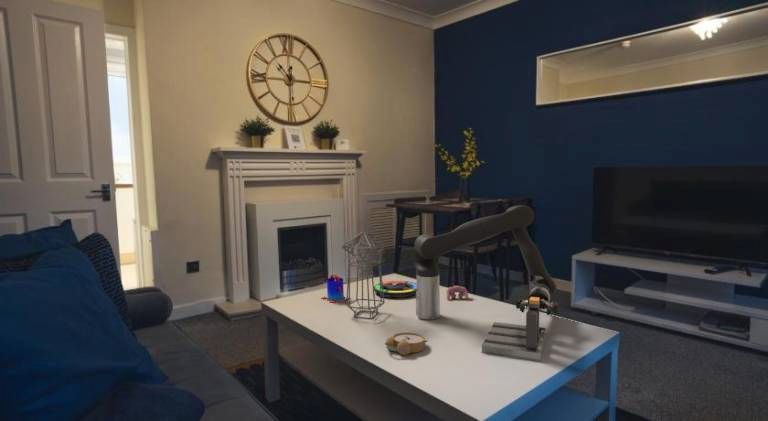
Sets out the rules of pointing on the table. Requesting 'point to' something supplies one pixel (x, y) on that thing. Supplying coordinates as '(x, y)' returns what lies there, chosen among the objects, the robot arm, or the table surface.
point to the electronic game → (397, 289)
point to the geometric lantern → (353, 243)
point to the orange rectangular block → (534, 300)
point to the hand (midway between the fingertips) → (535, 311)
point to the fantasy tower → (335, 290)
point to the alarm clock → (406, 343)
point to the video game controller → (459, 289)
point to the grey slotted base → (517, 338)
